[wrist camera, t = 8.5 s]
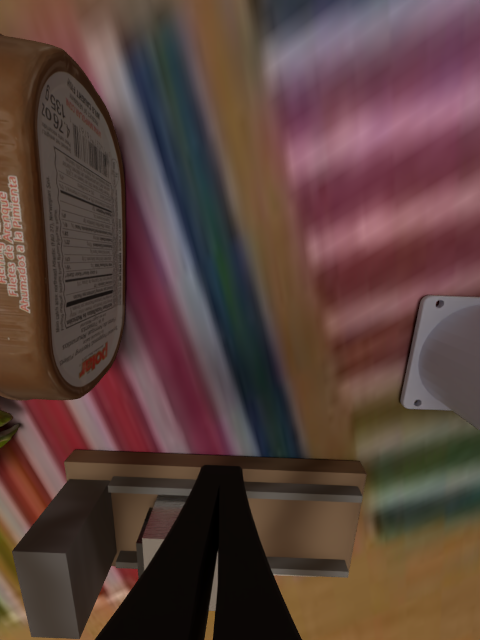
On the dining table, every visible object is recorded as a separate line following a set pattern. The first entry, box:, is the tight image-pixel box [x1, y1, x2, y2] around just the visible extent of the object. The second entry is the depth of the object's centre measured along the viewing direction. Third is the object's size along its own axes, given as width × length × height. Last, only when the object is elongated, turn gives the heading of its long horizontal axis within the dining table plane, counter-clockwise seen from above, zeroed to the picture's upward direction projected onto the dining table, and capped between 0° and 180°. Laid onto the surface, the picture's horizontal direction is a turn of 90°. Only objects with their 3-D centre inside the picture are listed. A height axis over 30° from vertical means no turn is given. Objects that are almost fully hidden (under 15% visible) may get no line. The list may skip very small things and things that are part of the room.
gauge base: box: [12, 450, 367, 639], centre depth 18 cm, size 22×10×6 cm, turn 88°
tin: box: [0, 34, 126, 400], centre depth 12 cm, size 15×3×8 cm, turn 174°
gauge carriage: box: [136, 495, 218, 611], centre depth 18 cm, size 6×8×3 cm
